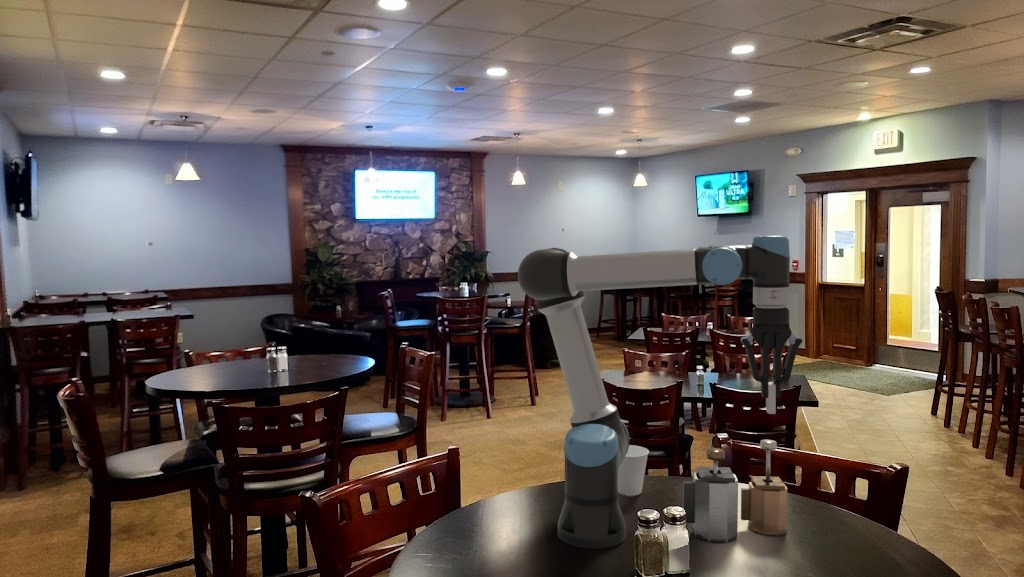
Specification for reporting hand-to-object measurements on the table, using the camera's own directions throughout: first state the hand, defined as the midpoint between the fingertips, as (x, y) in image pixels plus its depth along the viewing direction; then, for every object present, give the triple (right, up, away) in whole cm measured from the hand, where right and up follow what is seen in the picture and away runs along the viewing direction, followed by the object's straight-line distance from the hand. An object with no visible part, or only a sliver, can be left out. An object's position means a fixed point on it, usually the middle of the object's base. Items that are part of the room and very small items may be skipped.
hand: (770, 412), depth 160 cm
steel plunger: (-12, -21, -1) cm, 24 cm away
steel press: (-12, -27, 0) cm, 30 cm away
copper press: (0, -27, +2) cm, 27 cm away
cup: (-27, -25, +26) cm, 45 cm away
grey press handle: (0, -18, +2) cm, 18 cm away
